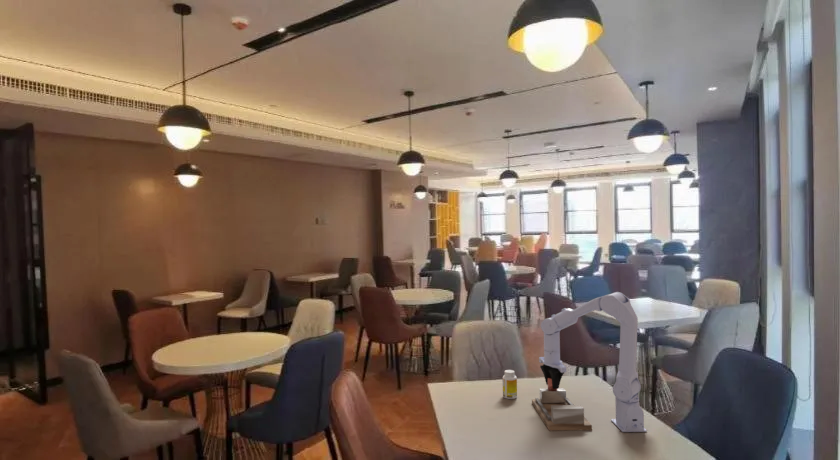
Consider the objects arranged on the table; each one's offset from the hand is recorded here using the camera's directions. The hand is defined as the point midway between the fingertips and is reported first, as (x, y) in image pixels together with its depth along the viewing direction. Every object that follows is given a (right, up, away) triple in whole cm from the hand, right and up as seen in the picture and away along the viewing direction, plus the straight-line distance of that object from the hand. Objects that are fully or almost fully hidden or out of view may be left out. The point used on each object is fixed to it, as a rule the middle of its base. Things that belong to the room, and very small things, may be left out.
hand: (552, 386), depth 175 cm
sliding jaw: (0, -6, 0) cm, 6 cm away
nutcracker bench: (0, -7, -9) cm, 11 cm away
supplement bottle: (-14, -8, +10) cm, 19 cm away
